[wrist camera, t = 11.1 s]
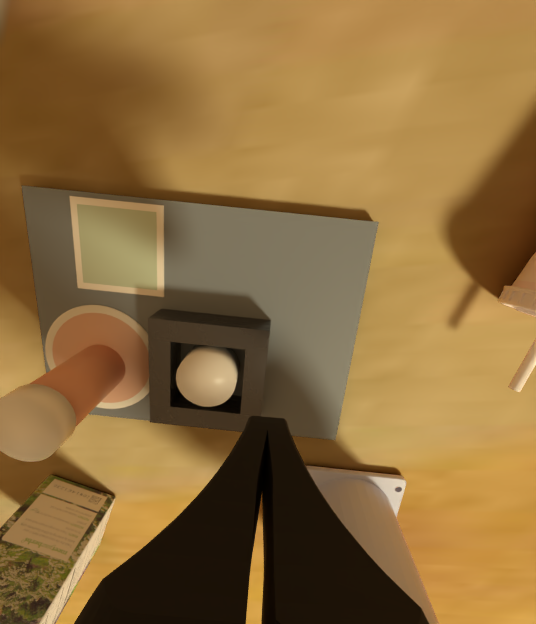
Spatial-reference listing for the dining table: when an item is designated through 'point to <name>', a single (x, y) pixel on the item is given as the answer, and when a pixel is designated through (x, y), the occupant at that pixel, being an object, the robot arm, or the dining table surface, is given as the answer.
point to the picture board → (201, 290)
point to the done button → (208, 375)
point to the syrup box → (49, 549)
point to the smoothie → (530, 300)
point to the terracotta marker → (57, 403)
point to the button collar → (212, 332)
